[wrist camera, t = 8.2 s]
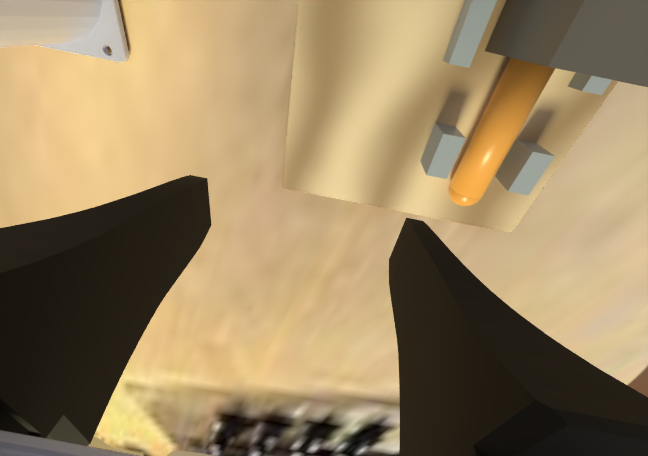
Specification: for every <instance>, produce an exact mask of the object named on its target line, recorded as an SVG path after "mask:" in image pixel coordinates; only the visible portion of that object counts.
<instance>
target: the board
mask: <svg viewBox="0 0 648 456" xmlns="http://www.w3.org/2000/svg"><path fill="white" fill-rule="evenodd" d="M464 2H465V0H299V4H298V15H297V27H296V38H295V49H294V61H293V72H292V83H291V95H290V106H289V117H288V129H287V140H286V151H285V163H284V174H283V185H282V188H286V189H291V190H296V191H301V192H306V193H311V194H316V195H321V196H326V197H331V198H336V199H341V200H346V201H351V202H356V203H362V204H367V205H372V206H377V207H382V208H387V209H392V210H397V211H402V212H407V213H412V214H417V215H422V216H427V217H432V218H438V219H443V220H448V221H453V222H458V223H463V224H468V225H473V226H478V227H483V228H488V229H493V230H498V231H503V232H508V233H511V232H512V231H513V230H514V228H515V227H516V225H517V224H518V223H519V221H520V220H521V218H522V217H523V215H524V214H525V213H526V211H527V210H528V208H529V207H530V205H531V204H532V203H533V201H534V200H535V198H536V197H537V196H538V194H539V193H540V191H541V190H542V188H543V187H544V186H545V184H546V183H547V181H548V180H549V179H550V177H551V176H552V174H553V173H554V171H555V170H556V169H557V167H558V166H559V164H560V163H561V161H562V160H563V159H564V157H565V156H566V154H567V153H568V152H569V150H570V149H571V147H572V146H573V144H574V143H575V142H576V140H577V139H578V137H579V136H580V135H581V133H582V132H583V130H584V129H585V127H586V126H587V125H588V123H589V122H590V120H591V119H592V118H593V116H594V115H595V113H596V112H597V110H598V109H599V108H600V106H601V105H602V103H603V102H604V100H605V99H606V98H607V96H608V95H609V93H610V92H611V91H612V89H613V88H614V86H615V85H616V83H617V82H618V81H615V80H612V81H611V83H610V84H609V85H608V87H607V88H606V90H605V91H604V93H603V94H602V95H598V94H593V93H589V92H584V91H580V90H577V89H574V88H570V87H567V86H568V85H569V83H570V81H571V80H572V78H573V76H574V75H575V73H576V72H571V71H566V70H562V69H557V68H555V70H554V72H553V74H552V75H551V77H550V79H549V81H548V82H547V84H546V86H545V88H544V90H543V91H542V93H541V95H540V97H539V98H538V100H537V102H536V104H535V105H534V107H533V109H532V111H531V112H530V114H529V116H528V118H527V119H526V121H525V123H524V125H523V126H522V128H521V130H520V132H519V133H518V135H517V137H516V139H518V140H523V141H528V142H533V143H537V144H538V145H540V146H541V147H543V148H544V149H545V150H547V151H548V152H550V153H551V154H553V155H554V156H555V157H554V159H553V160H552V162H551V163H550V165H549V166H548V167H547V169H546V170H545V172H544V173H543V175H542V176H541V178H540V179H539V181H538V182H537V184H536V185H535V187H534V188H533V189H532V191H531V192H530V194H529V195H523V194H518V193H513V192H508V191H507V190H506V189H505V187H504V186H503V185H502V184H501V183H500V182H499V180H498V179H497V178H496V177H495V175H496V174H495V175H494V177H493V179H492V181H491V182H490V184H489V186H488V188H487V189H486V191H485V193H484V195H483V196H482V198H481V199H480V200H479V201H478V202H477V203H475V204H473V205H470V206H460V205H457V204H456V203H454V202H453V201H452V200H451V198H450V196H449V193H448V189H449V185H450V183H451V181H452V178H453V176H454V174H455V172H456V170H457V168H458V166H459V164H460V162H461V160H462V158H463V155H464V153H465V151H466V149H467V147H468V145H469V143H470V141H471V139H472V137H473V134H474V132H475V130H476V128H477V126H478V124H479V122H480V120H481V118H482V116H483V114H484V111H485V109H486V107H487V105H488V103H489V101H490V99H491V97H492V95H493V93H494V91H495V88H496V86H497V84H498V82H499V80H500V78H501V76H502V74H503V72H504V70H505V68H506V65H507V63H508V61H509V59H510V57H506V56H502V55H498V54H494V53H490V52H486V51H485V49H486V47H487V44H488V42H489V40H490V37H491V35H492V33H493V30H494V28H495V25H496V23H497V21H498V18H499V16H500V14H501V11H502V9H503V7H504V4H505V2H506V0H497V2H496V4H495V7H494V9H493V11H492V14H491V16H490V19H489V21H488V24H487V26H486V28H485V31H484V33H483V36H482V38H481V41H480V43H479V45H478V48H477V50H476V53H475V55H474V57H473V60H472V62H471V65H470V67H469V68H467V67H462V66H457V65H452V64H448V63H446V62H444V61H443V60H444V57H445V54H446V52H447V49H448V46H449V43H450V41H451V38H452V35H453V32H454V29H455V27H456V24H457V21H458V18H459V16H460V13H461V10H462V7H463V4H464ZM435 123H439V124H444V125H449V126H454V127H456V128H457V129H458V130H459V131H460V132H461V133H462V134H463V136H464V137H465V138H466V139H465V141H464V143H463V146H462V148H461V150H460V152H459V154H458V156H457V158H456V161H455V163H454V165H453V167H452V169H451V171H450V173H449V175H448V178H447V179H443V178H438V177H433V176H428V175H426V173H425V171H424V169H423V166H422V164H421V162H420V161H421V158H422V156H423V153H424V151H425V148H426V145H427V143H428V140H429V138H430V135H431V133H432V130H433V128H434V125H435ZM516 139H515V140H516ZM515 140H514V142H515ZM514 142H513V144H514ZM513 144H512V145H513ZM511 147H512V146H511ZM511 147H510V149H511ZM510 149H509V151H510ZM509 151H508V152H509ZM507 154H508V153H507ZM507 154H506V156H507ZM506 156H505V158H506ZM505 158H504V159H505ZM503 161H504V160H503ZM503 161H502V163H503ZM502 163H501V165H502ZM501 165H500V166H501ZM499 168H500V167H499ZM499 168H498V170H499ZM498 170H497V172H498ZM497 172H496V173H497Z"/></svg>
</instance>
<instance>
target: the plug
mask: <svg viewBox="0 0 648 456" xmlns="http://www.w3.org/2000/svg"><path fill="white" fill-rule="evenodd" d="M485 51H486V52H490V53H494V54H498V55H502V56H506V57H510V59H509V61H508V63H507V65H506V68H505V70H504V72H503V74H502V76H501V78H500V80H499V82H498V84H497V86H496V88H495V91H494V93H493V95H492V97H491V99H490V101H489V103H488V105H487V107H486V109H485V111H484V114H483V116H482V118H481V120H480V122H479V124H478V126H477V128H476V130H475V132H474V134H473V137H472V139H471V141H470V143H469V145H468V147H467V149H466V151H465V153H464V155H463V158H462V160H461V162H460V164H459V166H458V168H457V170H456V172H455V174H454V176H453V178H452V181H451V183H450V185H449V189H448V193H449V196H450V198H451V200H452V201H453V202H454V203H456V204H457V205H460V206H470V205H473V204H475V203H477V202H478V201H479V200H480V199H481V198H482V196H483V195H484V193H485V191H486V189H487V188H488V186H489V184H490V182H491V181H492V179H493V177H494V175H495V174H496V172H497V170H498V168H499V167H500V165H501V163H502V161H503V160H504V158H505V156H506V154H507V153H508V151H509V149H510V147H511V146H512V144H513V142H514V140H515V139H516V137H517V135H518V133H519V132H520V130H521V128H522V126H523V125H524V123H525V121H526V119H527V118H528V116H529V114H530V112H531V111H532V109H533V107H534V105H535V104H536V102H537V100H538V98H539V97H540V95H541V93H542V91H543V90H544V88H545V86H546V84H547V82H548V81H549V79H550V77H551V75H552V74H553V72H554V70H555V68H557V69H562V70H566V71H571V72H576V73H581V74H586V75H591V76H596V77H601V78H606V79H611V80H615V81H620V82H625V83H630V84H635V85H640V86H645V87H648V0H506V2H505V4H504V7H503V9H502V11H501V14H500V16H499V18H498V21H497V23H496V25H495V28H494V30H493V33H492V35H491V37H490V40H489V42H488V44H487V47H486V49H485Z"/></svg>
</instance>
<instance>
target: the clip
mask: <svg viewBox="0 0 648 456" xmlns="http://www.w3.org/2000/svg"><path fill="white" fill-rule="evenodd" d="M465 139H466V138H465V137H464V136H463V134H462V133H461V132H460V131H459V130H458V129H457V128H456V127H454V126H449V125H444V124H439V123H435V125H434V128H433V130H432V133H431V135H430V138H429V140H428V143H427V145H426V148H425V151H424V153H423V156H422V158H421V161H420V162H421V164H422V166H423V169H424V171H425V173H426V175H428V176H433V177H438V178H443V179H447V178H448V175H449V173H450V171H451V169H452V167H453V165H454V163H455V161H456V158H457V156H458V154H459V152H460V150H461V148H462V146H463V143H464V141H465ZM554 157H555V156H554V155H553V154H551V153H550V152H548V151H547V150H545V149H544V148H543V147H541V146H540V145H538V144H537V143H533V142H528V141H523V140H518V139H516V140H515V142H514V144H513V145H512V147H511V149H510V151H509V152H508V154H507V156H506V158H505V159H504V161H503V163H502V165H501V166H500V168H499V170H498V172H497V173H496V175H495V177H496V178H497V179H498V180H499V182H500V183H501V184H502V185H503V186H504V187H505V189H506V190H507V191H508V192H513V193H518V194H523V195H529V194H530V192H531V191H532V189H533V188H534V187H535V185H536V184H537V182H538V181H539V179H540V178H541V176H542V175H543V173H544V172H545V170H546V169H547V167H548V166H549V165H550V163H551V162H552V160H553V159H554Z"/></svg>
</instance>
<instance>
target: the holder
mask: <svg viewBox="0 0 648 456" xmlns="http://www.w3.org/2000/svg"><path fill="white" fill-rule="evenodd" d="M496 2H497V0H465V2H464V4H463V7H462V10H461V13H460V16H459V18H458V21H457V24H456V27H455V29H454V32H453V35H452V38H451V41H450V43H449V46H448V49H447V52H446V54H445V57H444V60H443V61H444V62H446V63H448V64H452V65H457V66H462V67H467V68H469V67H470V65H471V62H472V60H473V57H474V55H475V53H476V50H477V48H478V45H479V43H480V41H481V38H482V36H483V33H484V31H485V28H486V26H487V24H488V21H489V19H490V16H491V14H492V11H493V9H494V7H495V4H496ZM611 81H612V80H611V79H606V78H601V77H596V76H591V75H586V74H581V73H575V75H574V76H573V78H572V80H571V81H570V83H569V85H568V86H567V87H570V88H574V89H577V90H580V91H584V92H589V93H593V94H598V95H602V94H603V93H604V91H605V90H606V88H607V87H608V85H609V84H610V83H611Z"/></svg>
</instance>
